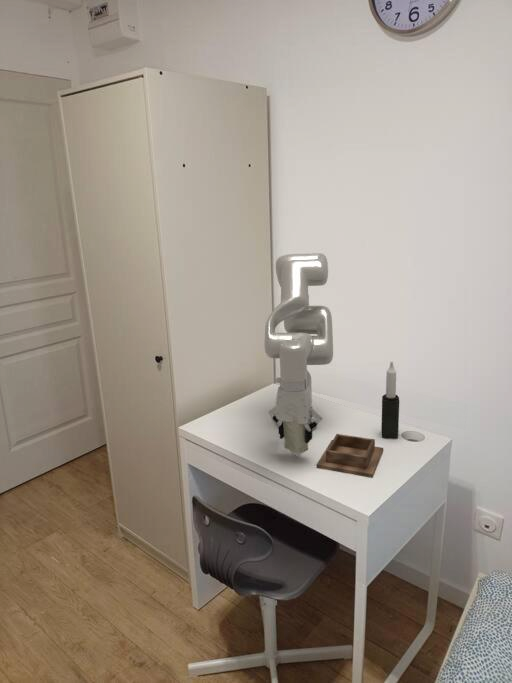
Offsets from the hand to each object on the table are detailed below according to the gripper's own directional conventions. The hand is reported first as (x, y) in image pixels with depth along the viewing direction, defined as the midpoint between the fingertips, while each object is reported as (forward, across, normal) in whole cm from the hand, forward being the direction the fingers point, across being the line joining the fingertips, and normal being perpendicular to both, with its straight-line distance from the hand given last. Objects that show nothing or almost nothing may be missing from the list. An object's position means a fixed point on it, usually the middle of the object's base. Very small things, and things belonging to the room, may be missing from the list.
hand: (295, 438), depth 148 cm
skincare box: (+4, 0, 0) cm, 4 cm away
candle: (+7, +24, +24) cm, 34 cm away
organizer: (+6, +16, +4) cm, 17 cm away
